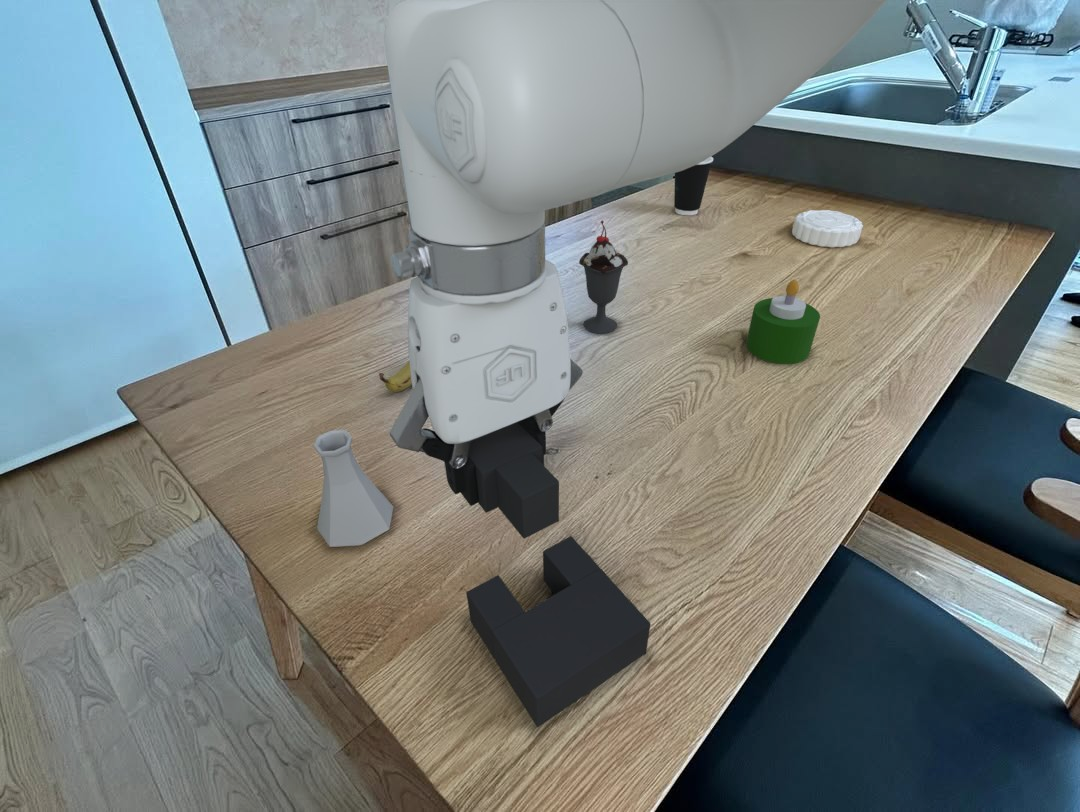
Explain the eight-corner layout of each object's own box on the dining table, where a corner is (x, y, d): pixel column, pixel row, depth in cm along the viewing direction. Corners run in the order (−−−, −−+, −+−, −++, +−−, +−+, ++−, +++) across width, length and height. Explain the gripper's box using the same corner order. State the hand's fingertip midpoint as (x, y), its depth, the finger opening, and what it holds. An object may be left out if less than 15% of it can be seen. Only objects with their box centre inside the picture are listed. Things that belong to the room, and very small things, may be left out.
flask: (401, 535, 55) (381, 455, 49) (321, 559, 53) (291, 479, 47) (387, 485, 60) (368, 407, 54) (314, 505, 58) (286, 427, 52)
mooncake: (848, 226, 117) (854, 208, 115) (866, 249, 108) (872, 230, 105) (786, 224, 119) (790, 206, 117) (798, 246, 109) (803, 227, 107)
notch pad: (470, 621, 48) (465, 591, 45) (570, 565, 52) (571, 535, 49) (537, 728, 41) (536, 699, 38) (646, 653, 45) (651, 623, 43)
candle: (792, 371, 76) (812, 301, 70) (734, 348, 81) (748, 281, 75) (819, 346, 81) (840, 279, 75) (763, 326, 85) (778, 261, 79)
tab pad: (455, 473, 46) (449, 434, 44) (509, 450, 48) (507, 411, 46) (511, 546, 40) (508, 505, 38) (570, 515, 42) (571, 475, 40)
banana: (431, 361, 79) (427, 335, 77) (444, 366, 78) (441, 340, 76) (377, 398, 73) (371, 372, 70) (392, 404, 72) (386, 377, 69)
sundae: (600, 310, 90) (604, 213, 81) (632, 326, 86) (640, 225, 77) (568, 324, 87) (569, 224, 78) (600, 341, 83) (605, 238, 74)
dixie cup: (713, 213, 125) (721, 158, 118) (685, 220, 122) (692, 165, 115) (687, 203, 130) (694, 150, 124) (660, 210, 127) (665, 156, 121)
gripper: (362, 318, 28) (415, 561, 39) (635, 241, 35) (615, 463, 46) (316, 266, 33) (375, 493, 44) (563, 207, 40) (561, 415, 51)
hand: (498, 476), depth 45 cm, fingers closed on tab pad, 5 cm apart
